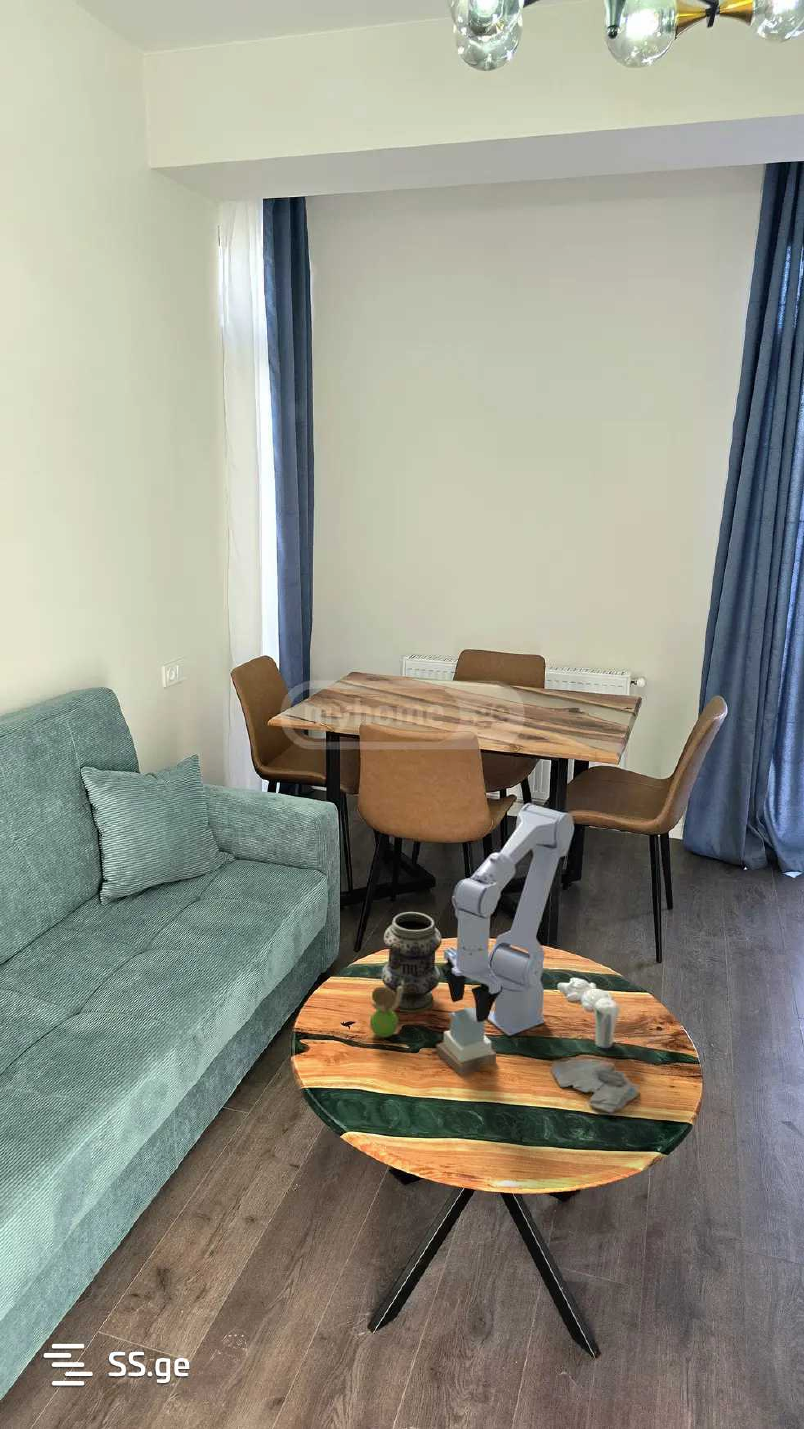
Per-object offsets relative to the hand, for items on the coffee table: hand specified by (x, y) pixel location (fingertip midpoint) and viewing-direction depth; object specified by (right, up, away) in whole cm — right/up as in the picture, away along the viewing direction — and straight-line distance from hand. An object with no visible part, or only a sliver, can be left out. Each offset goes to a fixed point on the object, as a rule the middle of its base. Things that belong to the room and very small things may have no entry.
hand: (469, 1010), depth 176 cm
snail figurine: (-16, -8, +9) cm, 20 cm away
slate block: (0, -6, +1) cm, 6 cm away
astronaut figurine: (+26, -5, +25) cm, 36 cm away
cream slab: (0, -8, +2) cm, 8 cm away
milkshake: (+26, -9, +8) cm, 29 cm away
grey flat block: (-1, -10, +3) cm, 11 cm away
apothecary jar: (-11, -5, +21) cm, 24 cm away
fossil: (+21, -13, -4) cm, 25 cm away
